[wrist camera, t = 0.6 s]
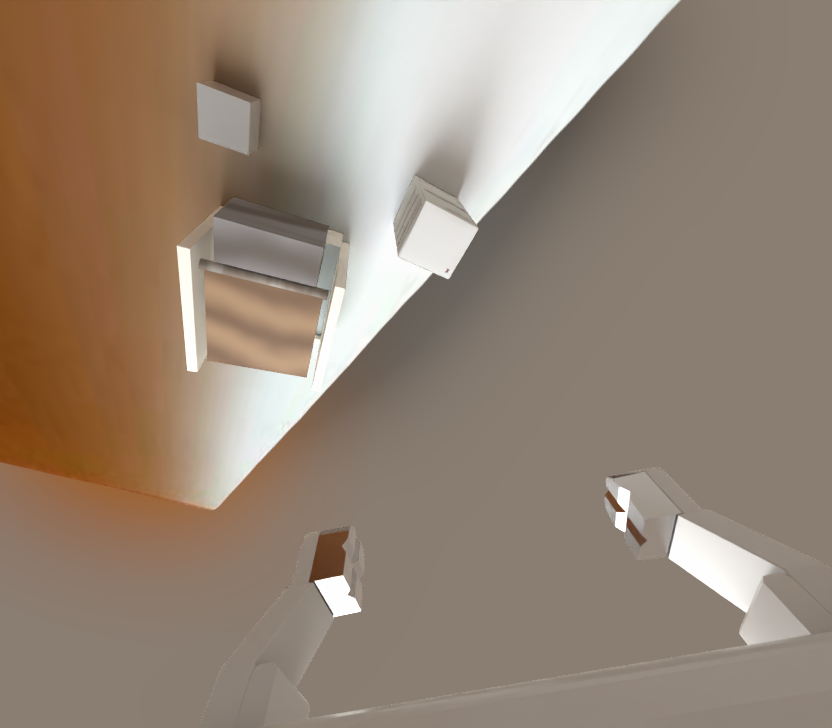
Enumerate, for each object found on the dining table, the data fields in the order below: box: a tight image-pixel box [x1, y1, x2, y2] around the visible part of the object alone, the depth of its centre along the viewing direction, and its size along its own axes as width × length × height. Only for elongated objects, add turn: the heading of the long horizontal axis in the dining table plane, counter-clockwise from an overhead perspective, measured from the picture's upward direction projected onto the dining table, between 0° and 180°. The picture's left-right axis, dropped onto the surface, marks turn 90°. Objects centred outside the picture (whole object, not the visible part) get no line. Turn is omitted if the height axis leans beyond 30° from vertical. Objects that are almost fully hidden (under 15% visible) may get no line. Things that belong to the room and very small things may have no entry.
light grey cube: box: [197, 81, 261, 155], centre depth 38 cm, size 5×5×5 cm
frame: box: [177, 200, 350, 392], centre depth 48 cm, size 20×18×14 cm
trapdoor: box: [199, 197, 329, 377], centre depth 44 cm, size 20×14×7 cm
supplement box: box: [393, 175, 478, 279], centre depth 44 cm, size 7×7×13 cm
